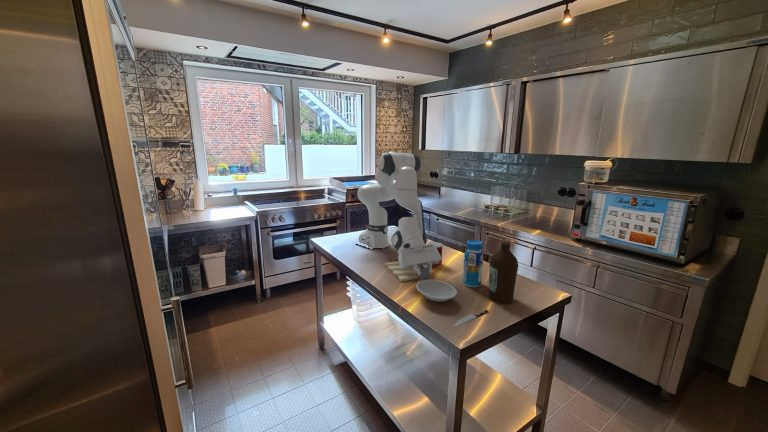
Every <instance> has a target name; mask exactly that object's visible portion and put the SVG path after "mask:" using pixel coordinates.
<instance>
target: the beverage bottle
mask: <svg viewBox="0 0 768 432" xmlns="http://www.w3.org/2000/svg"><path fill="white" fill-rule="evenodd" d="M465 245H466V250H465V252H464V253H463V254H464V255H463V257H464V258H463V271H462V273H463V274H462V284H463V285H464V286H465V287H469V288H478V287H481V285H482V277H483V276H482V275H483V266H484V260H483V259H484V255H483V252H482V250H483V242H482V241H481V240H479V239H469V240H467V241H466V244H465Z"/></svg>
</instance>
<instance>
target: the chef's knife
mask: <svg viewBox="0 0 768 432" xmlns="http://www.w3.org/2000/svg"><path fill="white" fill-rule="evenodd" d="M487 313H489V310H488V309H485V310H483V311H482V312H480V313H477V314H472V313H471V314H470V313H469V314H467V315H466V316H464V317H462V318H461V319H459V320H457V321H456V323H455V324H454V327H459V326H460V325H463V324H465V323H466V324H467V322H468V323H469V322H470V321H472V320H474V319H476V318H478V317H481V316H483V315H485V314H487Z"/></svg>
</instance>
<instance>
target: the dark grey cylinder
mask: <svg viewBox="0 0 768 432" xmlns="http://www.w3.org/2000/svg"><path fill="white" fill-rule="evenodd" d="M420 270H421V271H422V275H420V278H419V281H422V280H430V274H429V267H428V266H427V265H422V266H420Z"/></svg>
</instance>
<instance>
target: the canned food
mask: <svg viewBox="0 0 768 432" xmlns="http://www.w3.org/2000/svg"><path fill="white" fill-rule="evenodd" d="M430 244H432V245H434V246H436V248H437V250H438V252H439V254H440V256H441V261H440V262H439V263H434V264H432V267H434V268H435V267H440V266H441V265H442V261H443V243H441V242H437V241H436V242H435V241H434V242H432V241H431V242H427V243H426V245H430Z"/></svg>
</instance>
